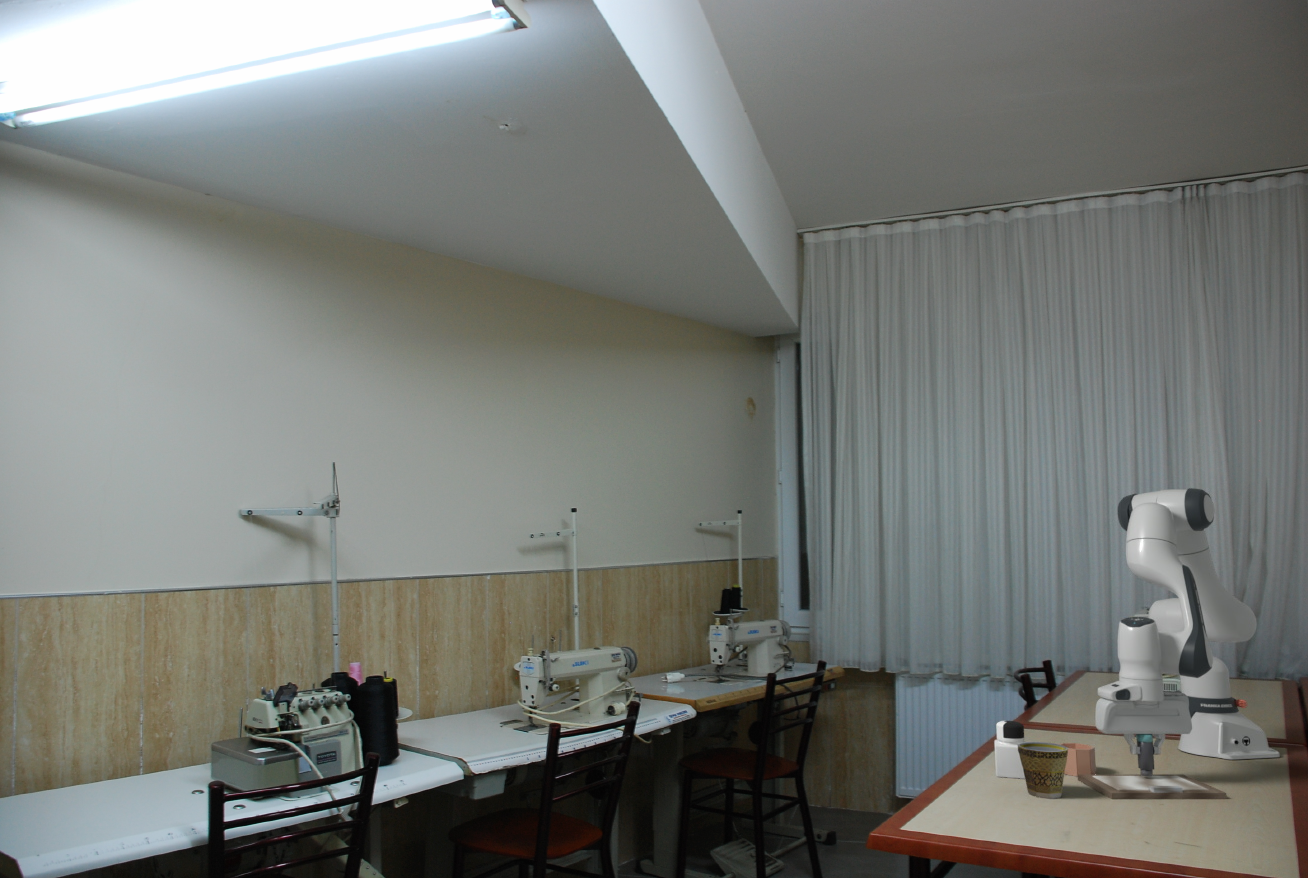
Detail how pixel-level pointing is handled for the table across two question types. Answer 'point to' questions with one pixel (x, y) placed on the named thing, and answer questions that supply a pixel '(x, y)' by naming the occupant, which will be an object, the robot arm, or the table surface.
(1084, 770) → the pen pot
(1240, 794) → the table surface
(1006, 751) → the medicine bottle
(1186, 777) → the brown picture frame
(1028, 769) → the ceramic cup
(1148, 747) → the marker
